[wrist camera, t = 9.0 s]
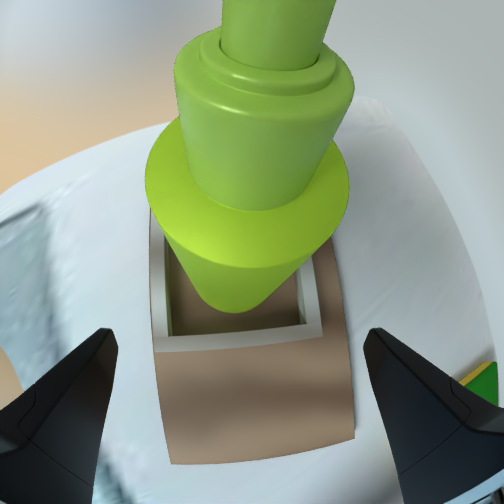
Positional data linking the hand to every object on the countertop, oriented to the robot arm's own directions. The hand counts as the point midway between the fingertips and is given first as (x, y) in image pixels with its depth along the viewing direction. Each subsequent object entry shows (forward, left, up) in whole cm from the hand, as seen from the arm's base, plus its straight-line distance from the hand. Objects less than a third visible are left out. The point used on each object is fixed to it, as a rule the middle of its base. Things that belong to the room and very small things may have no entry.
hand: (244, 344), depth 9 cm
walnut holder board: (+2, -1, -11) cm, 11 cm away
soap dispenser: (+5, -1, -10) cm, 12 cm away
